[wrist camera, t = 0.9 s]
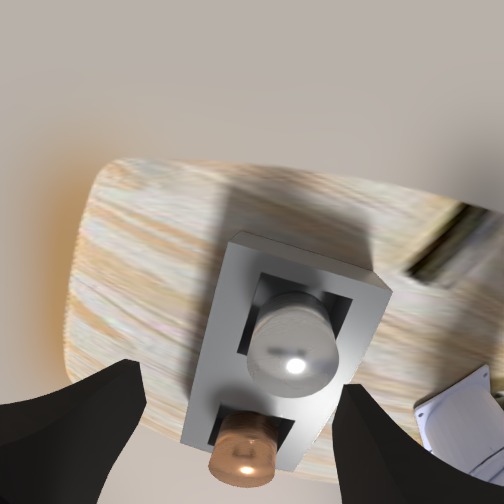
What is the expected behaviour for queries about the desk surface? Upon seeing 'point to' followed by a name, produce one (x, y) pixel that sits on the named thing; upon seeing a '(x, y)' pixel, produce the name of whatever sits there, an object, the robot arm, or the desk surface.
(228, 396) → the block
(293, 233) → the desk surface
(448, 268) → the desk surface
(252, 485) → the copper plunger
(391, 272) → the desk surface
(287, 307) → the aluminium plunger
